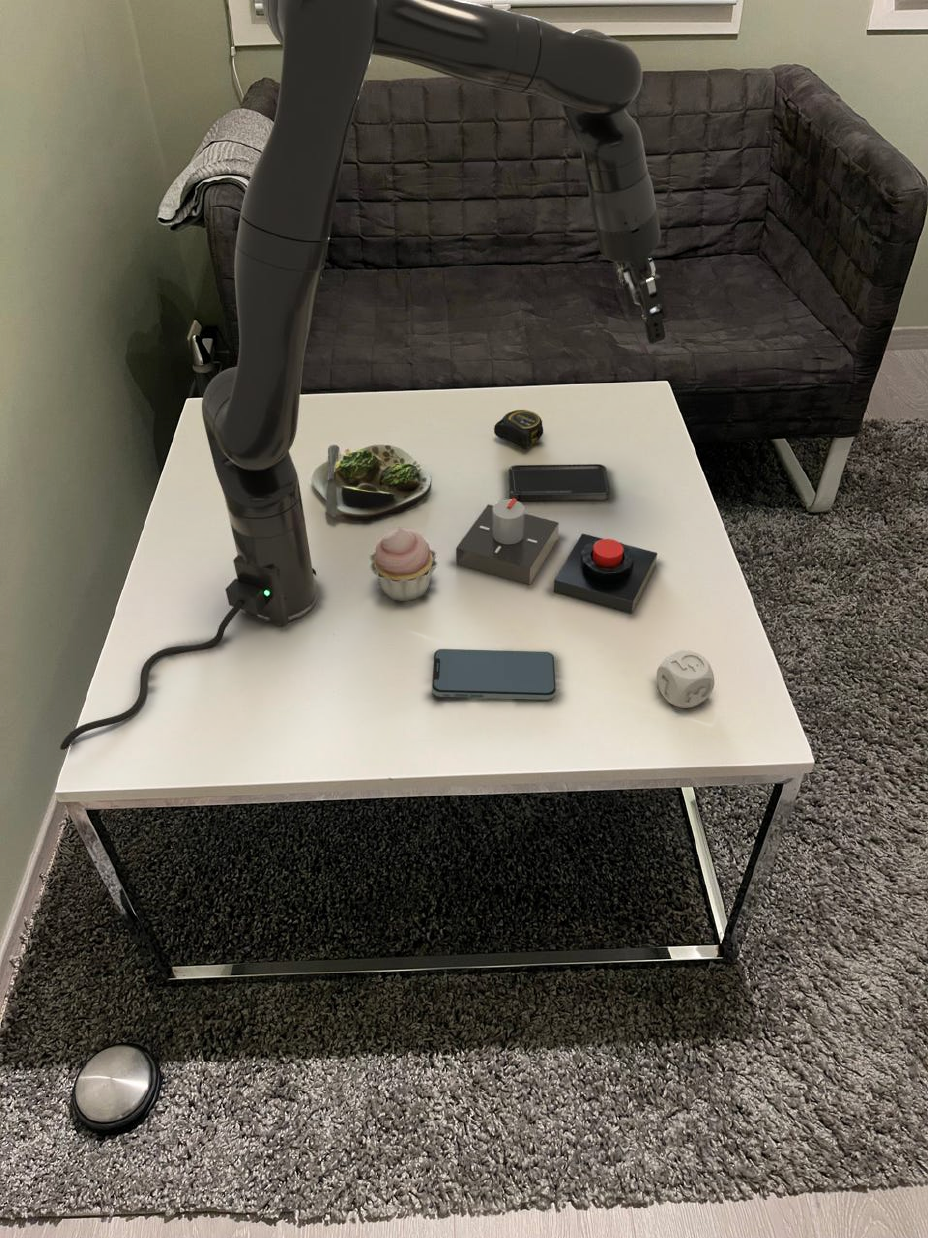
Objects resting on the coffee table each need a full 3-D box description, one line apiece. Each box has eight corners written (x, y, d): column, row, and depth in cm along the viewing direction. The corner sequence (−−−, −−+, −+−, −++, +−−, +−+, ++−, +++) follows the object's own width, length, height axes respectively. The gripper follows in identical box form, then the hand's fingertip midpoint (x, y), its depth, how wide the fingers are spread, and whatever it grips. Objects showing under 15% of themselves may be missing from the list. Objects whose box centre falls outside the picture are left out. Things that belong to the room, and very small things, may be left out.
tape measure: (491, 440, 164) (491, 420, 162) (519, 423, 168) (519, 403, 165) (523, 456, 161) (524, 436, 158) (551, 438, 164) (552, 418, 162)
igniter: (631, 614, 134) (634, 591, 131) (553, 592, 137) (554, 569, 134) (655, 564, 141) (659, 542, 138) (581, 544, 144) (582, 522, 142)
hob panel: (529, 585, 138) (530, 567, 136) (456, 564, 142) (455, 547, 139) (558, 538, 145) (559, 521, 143) (487, 520, 149) (487, 502, 147)
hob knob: (516, 547, 139) (517, 520, 136) (487, 539, 141) (487, 512, 137) (528, 529, 142) (529, 502, 139) (499, 521, 144) (500, 494, 140)
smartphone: (556, 694, 122) (431, 691, 122) (555, 704, 123) (431, 700, 123) (553, 649, 127) (434, 646, 127) (552, 659, 128) (434, 656, 128)
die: (654, 685, 124) (658, 657, 121) (688, 673, 126) (694, 644, 122) (676, 713, 121) (681, 685, 117) (711, 700, 122) (717, 671, 119)
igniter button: (616, 570, 135) (618, 560, 133) (588, 563, 136) (589, 553, 135) (626, 553, 137) (627, 543, 136) (598, 545, 138) (599, 535, 137)
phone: (508, 465, 157) (605, 463, 157) (508, 471, 158) (604, 469, 157) (510, 495, 151) (610, 494, 151) (510, 501, 152) (610, 500, 152)
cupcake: (428, 558, 143) (424, 501, 136) (447, 600, 136) (445, 542, 129) (363, 572, 141) (357, 515, 134) (380, 616, 134) (374, 558, 127)
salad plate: (285, 470, 159) (281, 445, 156) (386, 436, 165) (384, 412, 162) (339, 536, 147) (335, 510, 144) (445, 496, 153) (444, 471, 150)
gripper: (578, 197, 126) (603, 306, 138) (612, 250, 116) (636, 363, 128) (635, 174, 125) (655, 285, 137) (674, 225, 116) (692, 341, 128)
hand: (646, 322), depth 133 cm, fingers open, 8 cm apart
